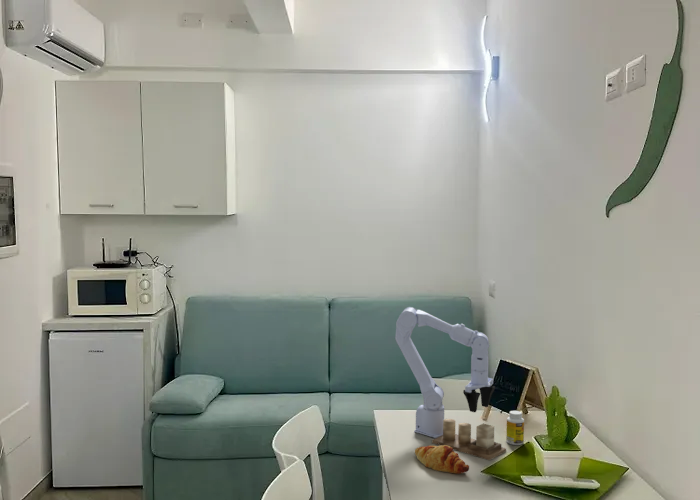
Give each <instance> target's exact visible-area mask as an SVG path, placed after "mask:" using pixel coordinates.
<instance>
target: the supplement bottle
mask: <svg viewBox="0 0 700 500" xmlns="http://www.w3.org/2000/svg"><path fill="white" fill-rule="evenodd" d="M508 414H509V415H508V417H507V418H506V435H505V436H506V438H505V439H506V443H507V444H510V445H512V446H520V445H523V444H524V440H525V439H524V438H525V436H524V435H525V419H524V418H523V413H522V412H521V411H519V410H510V411H509V413H508Z"/></svg>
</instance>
